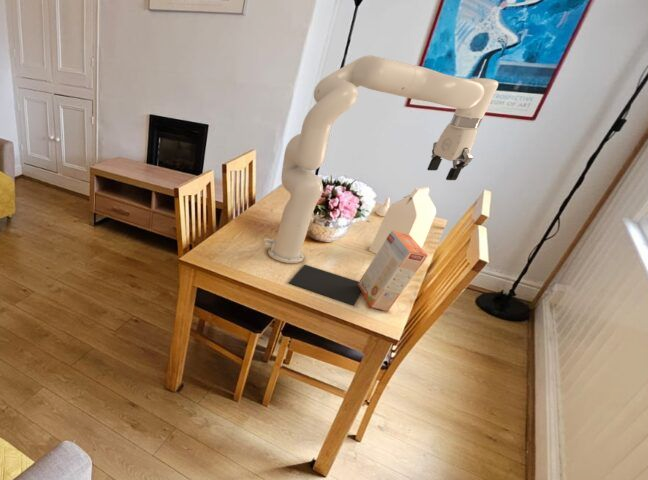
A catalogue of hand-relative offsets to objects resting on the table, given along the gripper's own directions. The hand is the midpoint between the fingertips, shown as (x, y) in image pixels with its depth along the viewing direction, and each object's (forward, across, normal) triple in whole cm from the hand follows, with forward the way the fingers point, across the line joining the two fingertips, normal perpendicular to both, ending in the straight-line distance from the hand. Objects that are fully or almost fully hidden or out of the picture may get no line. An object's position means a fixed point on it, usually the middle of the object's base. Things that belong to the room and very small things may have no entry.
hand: (441, 174), depth 151 cm
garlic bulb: (+31, -38, +13) cm, 51 cm away
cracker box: (+31, +29, -28) cm, 51 cm away
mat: (+31, +20, -38) cm, 53 cm away
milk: (+31, -2, -3) cm, 32 cm away
